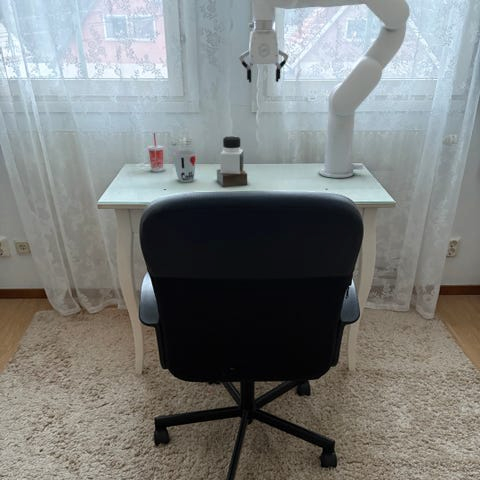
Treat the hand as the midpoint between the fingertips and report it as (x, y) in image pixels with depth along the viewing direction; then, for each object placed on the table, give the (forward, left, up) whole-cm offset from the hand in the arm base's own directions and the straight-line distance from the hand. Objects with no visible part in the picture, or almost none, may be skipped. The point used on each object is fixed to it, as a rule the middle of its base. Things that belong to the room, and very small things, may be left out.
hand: (263, 81), depth 184 cm
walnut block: (+12, +14, -32) cm, 37 cm away
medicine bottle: (+12, +14, -28) cm, 33 cm away
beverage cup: (+41, -5, -32) cm, 52 cm away
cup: (+29, +10, -32) cm, 44 cm away
